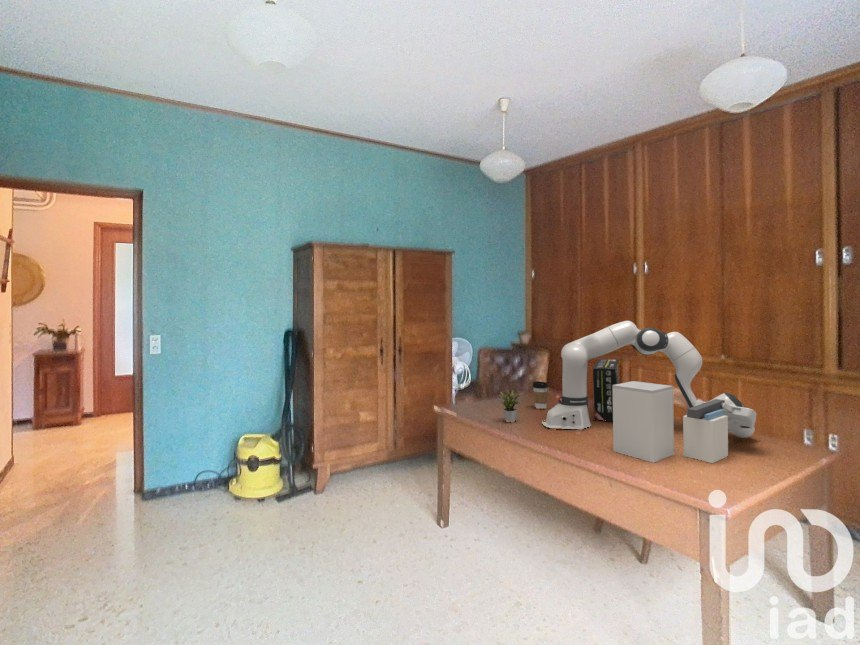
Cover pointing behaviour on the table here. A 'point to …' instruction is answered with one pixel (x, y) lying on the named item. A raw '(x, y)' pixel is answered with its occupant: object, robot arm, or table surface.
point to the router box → (604, 388)
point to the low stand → (706, 437)
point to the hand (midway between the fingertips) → (715, 403)
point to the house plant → (510, 406)
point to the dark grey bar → (704, 408)
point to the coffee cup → (540, 394)
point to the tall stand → (643, 420)
